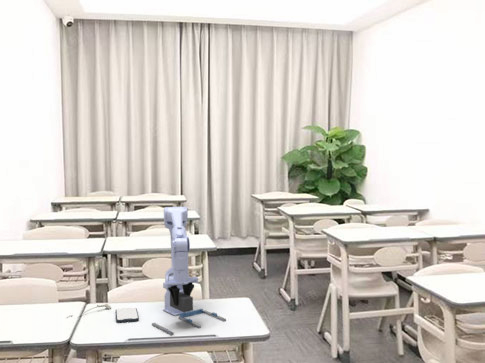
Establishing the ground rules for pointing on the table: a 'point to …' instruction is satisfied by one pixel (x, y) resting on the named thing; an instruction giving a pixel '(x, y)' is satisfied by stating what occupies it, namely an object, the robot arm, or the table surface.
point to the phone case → (127, 315)
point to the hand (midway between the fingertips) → (181, 303)
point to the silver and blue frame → (189, 321)
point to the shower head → (100, 306)
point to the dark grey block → (183, 302)
